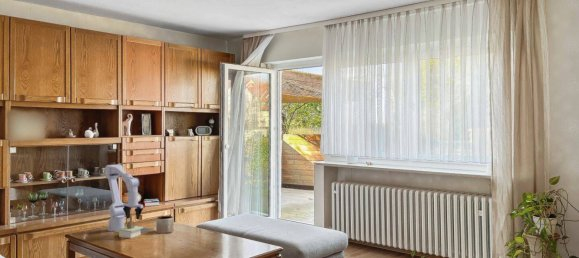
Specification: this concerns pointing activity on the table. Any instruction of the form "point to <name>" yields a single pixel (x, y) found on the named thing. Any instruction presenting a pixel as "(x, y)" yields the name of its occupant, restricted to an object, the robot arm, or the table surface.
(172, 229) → the planter
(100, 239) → the table surface
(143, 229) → the mat
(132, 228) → the lid
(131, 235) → the beige bevelled block
